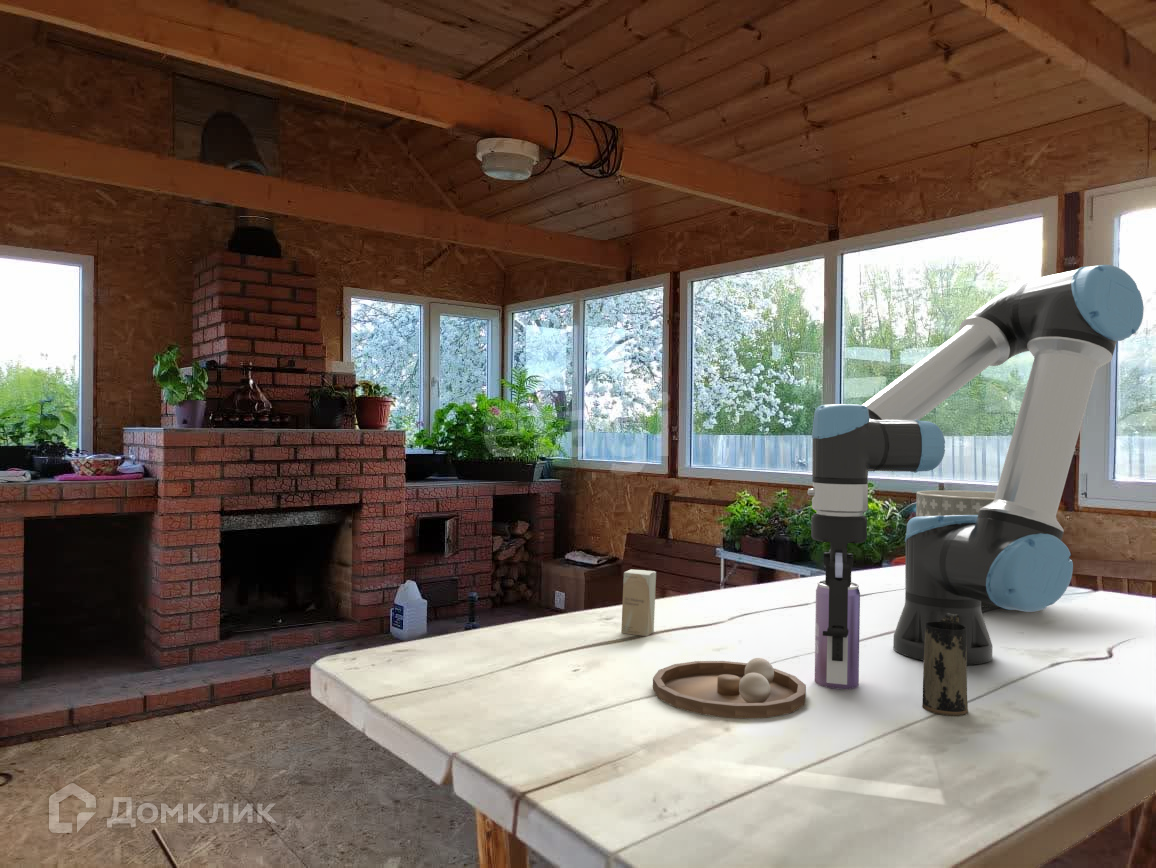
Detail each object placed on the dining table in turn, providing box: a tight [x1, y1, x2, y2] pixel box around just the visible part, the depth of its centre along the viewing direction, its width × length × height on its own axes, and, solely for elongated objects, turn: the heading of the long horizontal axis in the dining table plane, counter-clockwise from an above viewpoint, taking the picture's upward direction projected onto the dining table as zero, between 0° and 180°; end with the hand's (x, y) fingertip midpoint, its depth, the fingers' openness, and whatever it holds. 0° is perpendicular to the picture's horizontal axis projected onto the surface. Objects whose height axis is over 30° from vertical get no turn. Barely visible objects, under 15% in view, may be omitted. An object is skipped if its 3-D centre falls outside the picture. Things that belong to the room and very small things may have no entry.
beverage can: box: [814, 580, 861, 690], centre depth 116 cm, size 6×6×15 cm
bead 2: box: [739, 673, 770, 703], centre depth 106 cm, size 4×4×4 cm
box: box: [620, 568, 657, 637], centre depth 148 cm, size 5×4×11 cm
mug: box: [921, 613, 969, 717], centre depth 109 cm, size 8×6×12 cm
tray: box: [652, 660, 807, 719], centre depth 111 cm, size 20×20×3 cm
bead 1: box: [745, 657, 775, 684], centre depth 113 cm, size 4×4×4 cm
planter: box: [915, 489, 1000, 608], centre depth 181 cm, size 25×25×24 cm
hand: (836, 675), depth 116 cm, fingers closed on beverage can, 6 cm apart
